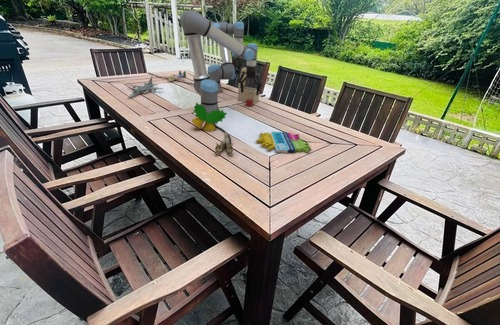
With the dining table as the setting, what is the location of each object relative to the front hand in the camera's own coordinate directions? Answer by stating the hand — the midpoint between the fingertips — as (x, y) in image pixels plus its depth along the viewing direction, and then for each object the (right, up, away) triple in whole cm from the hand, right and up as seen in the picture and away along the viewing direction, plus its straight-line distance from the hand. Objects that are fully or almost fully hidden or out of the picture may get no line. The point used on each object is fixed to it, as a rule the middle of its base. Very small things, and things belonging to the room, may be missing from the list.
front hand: (249, 93), depth 208 cm
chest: (-1, -1, +18) cm, 18 cm away
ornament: (-25, -34, -44) cm, 61 cm away
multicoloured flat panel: (+19, -44, -56) cm, 73 cm away
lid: (-5, +16, +11) cm, 20 cm away
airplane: (-92, +6, +18) cm, 94 cm away
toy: (-78, +33, +69) cm, 109 cm away
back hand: (-11, +20, +12) cm, 26 cm away
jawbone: (-13, -49, -70) cm, 86 cm away
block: (0, -8, +5) cm, 10 cm away
